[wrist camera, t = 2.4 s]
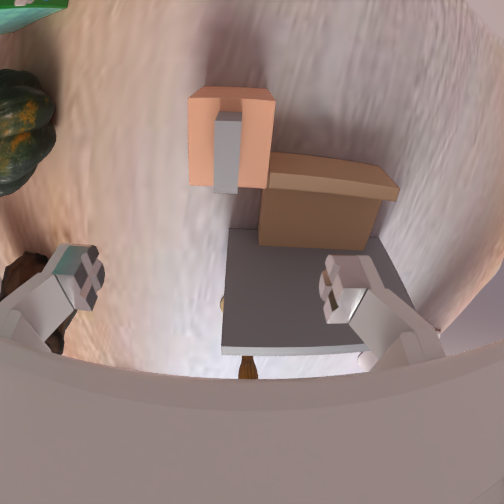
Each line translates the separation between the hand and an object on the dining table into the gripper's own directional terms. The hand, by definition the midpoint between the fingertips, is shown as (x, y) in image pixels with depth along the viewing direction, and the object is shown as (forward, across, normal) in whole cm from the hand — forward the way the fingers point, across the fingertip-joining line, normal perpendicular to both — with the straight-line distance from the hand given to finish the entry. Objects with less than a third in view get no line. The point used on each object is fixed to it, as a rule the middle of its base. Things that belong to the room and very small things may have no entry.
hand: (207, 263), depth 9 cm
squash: (+21, -26, +3) cm, 33 cm away
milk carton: (+21, -23, +20) cm, 37 cm away
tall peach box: (+21, 0, 0) cm, 21 cm away
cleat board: (+20, +10, -11) cm, 25 cm away
